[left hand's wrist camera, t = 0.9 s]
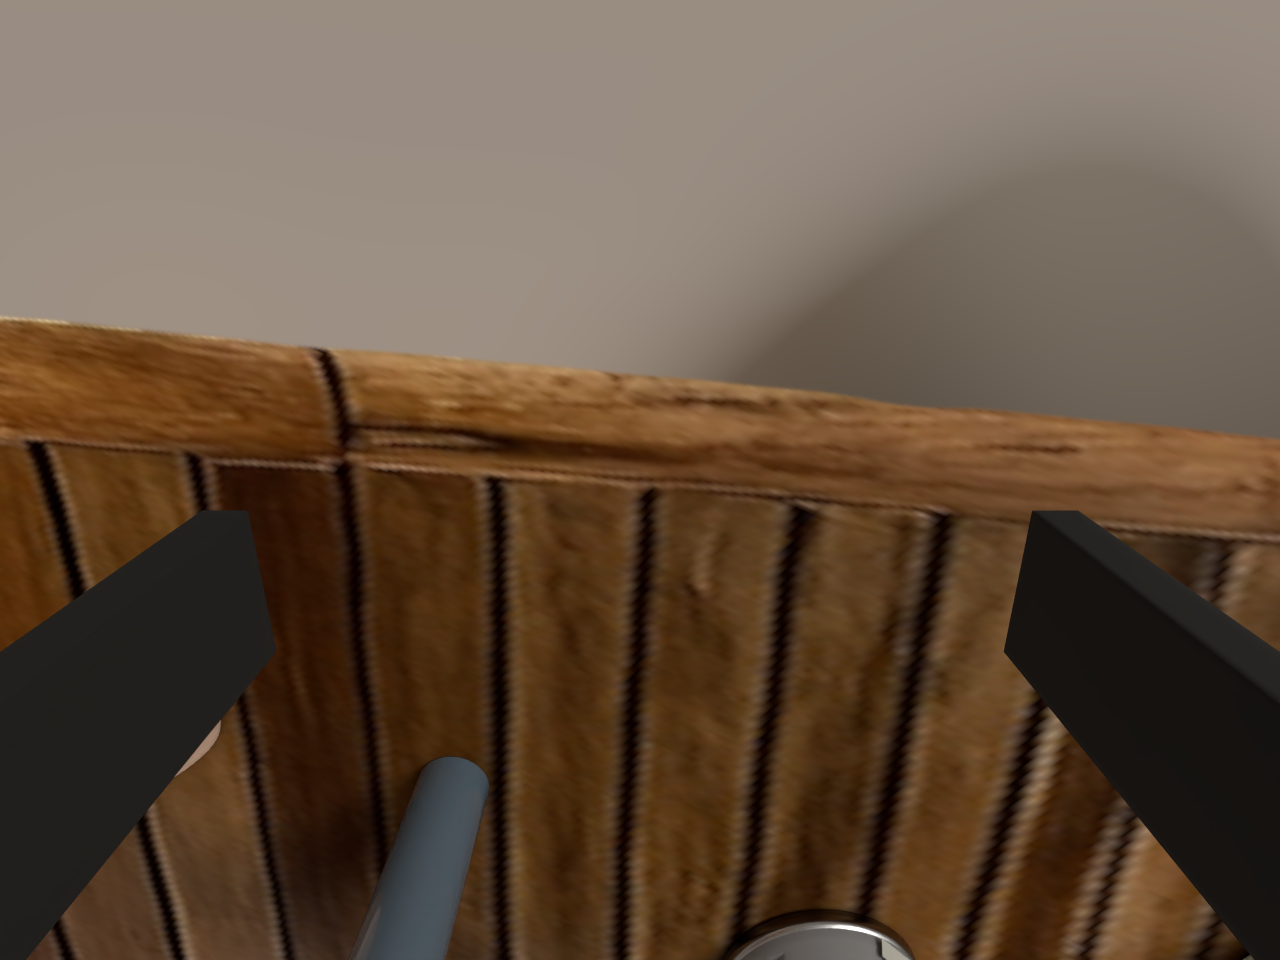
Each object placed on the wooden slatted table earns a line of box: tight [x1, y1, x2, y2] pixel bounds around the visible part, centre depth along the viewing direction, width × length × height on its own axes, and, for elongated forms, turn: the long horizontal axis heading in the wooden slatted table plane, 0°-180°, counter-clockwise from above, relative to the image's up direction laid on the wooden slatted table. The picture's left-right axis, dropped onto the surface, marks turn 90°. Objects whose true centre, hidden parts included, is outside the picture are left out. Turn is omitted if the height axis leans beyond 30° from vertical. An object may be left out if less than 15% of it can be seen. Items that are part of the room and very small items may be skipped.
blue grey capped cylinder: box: [348, 757, 489, 960], centre depth 42 cm, size 5×5×16 cm
